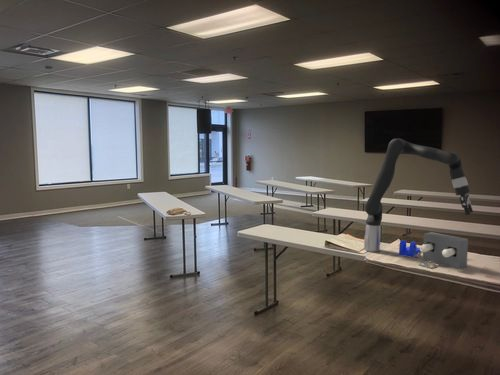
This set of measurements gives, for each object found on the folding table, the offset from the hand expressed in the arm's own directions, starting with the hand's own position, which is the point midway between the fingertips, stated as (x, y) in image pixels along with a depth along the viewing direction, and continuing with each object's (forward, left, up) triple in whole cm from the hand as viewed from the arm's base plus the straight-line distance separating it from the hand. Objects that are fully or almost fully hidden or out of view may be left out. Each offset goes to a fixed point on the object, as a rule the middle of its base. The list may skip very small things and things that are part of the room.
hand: (469, 213), depth 220 cm
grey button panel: (-10, +6, -30) cm, 32 cm away
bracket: (-19, +29, -31) cm, 46 cm away
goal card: (-22, +1, -30) cm, 38 cm away
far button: (-19, +8, -24) cm, 31 cm away
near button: (-12, -3, -24) cm, 27 cm away
